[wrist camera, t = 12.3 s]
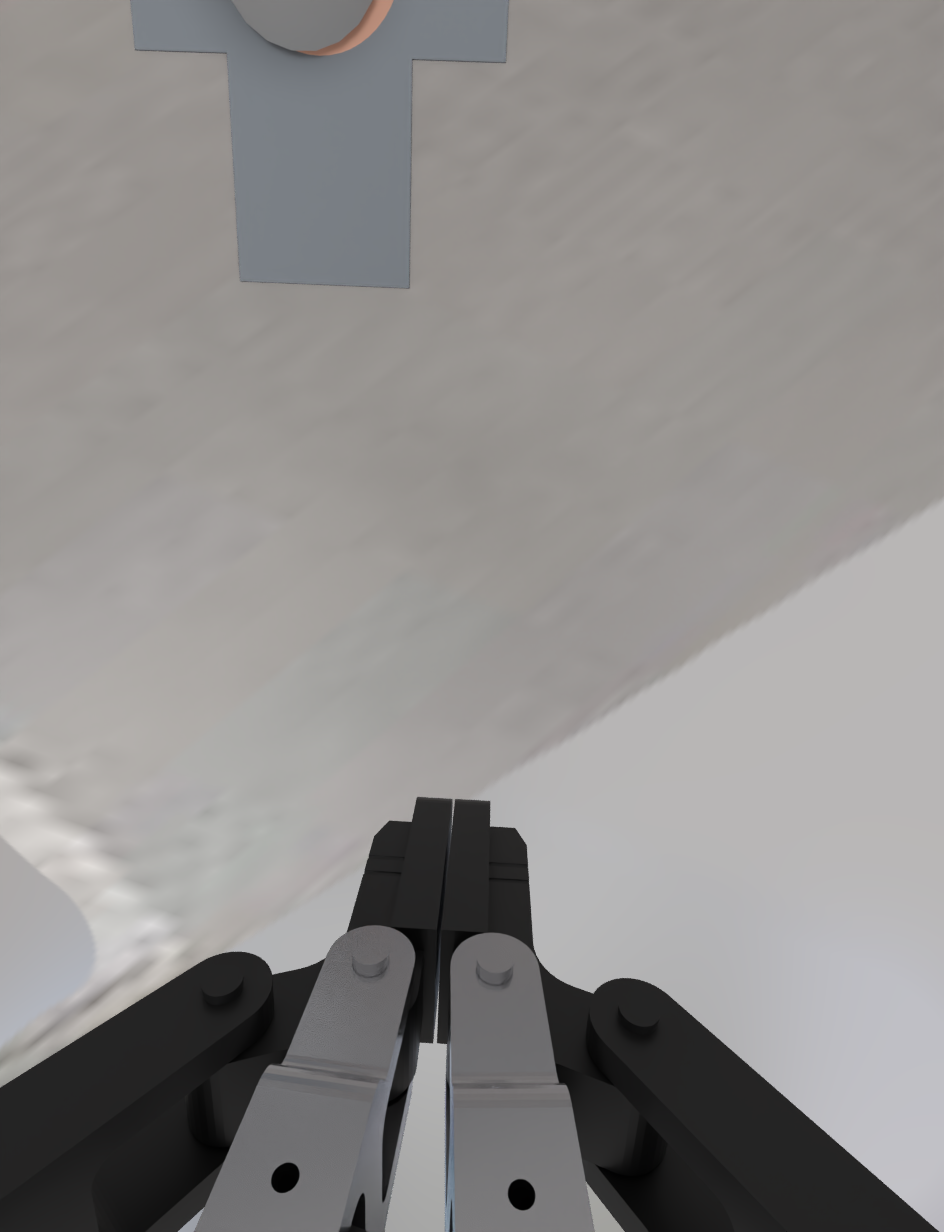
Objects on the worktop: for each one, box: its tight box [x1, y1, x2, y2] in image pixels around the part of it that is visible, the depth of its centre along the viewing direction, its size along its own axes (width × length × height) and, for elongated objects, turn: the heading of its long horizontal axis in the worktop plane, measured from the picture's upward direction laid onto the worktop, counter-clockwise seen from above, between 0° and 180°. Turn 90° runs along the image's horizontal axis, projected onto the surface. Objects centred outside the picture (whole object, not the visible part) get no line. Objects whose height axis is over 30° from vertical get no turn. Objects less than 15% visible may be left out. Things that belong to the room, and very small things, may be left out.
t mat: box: [130, 0, 509, 288], centre depth 32 cm, size 18×18×1 cm
